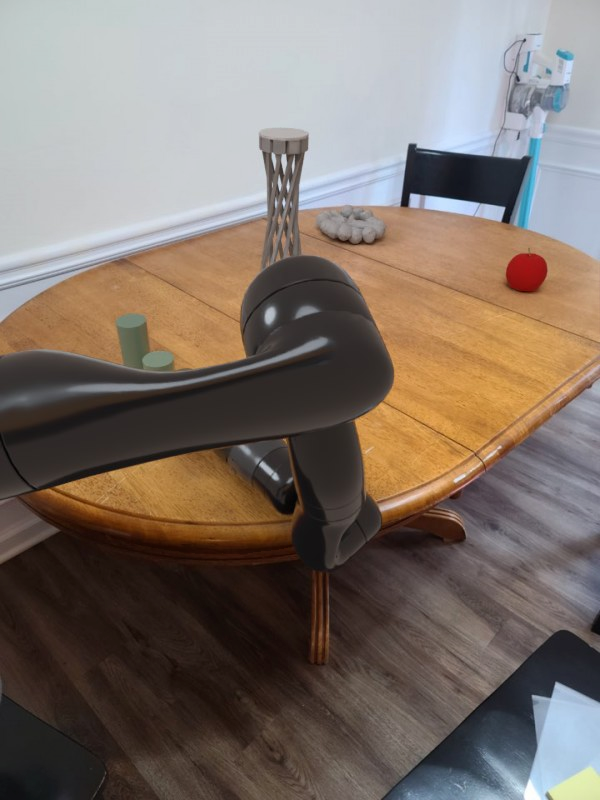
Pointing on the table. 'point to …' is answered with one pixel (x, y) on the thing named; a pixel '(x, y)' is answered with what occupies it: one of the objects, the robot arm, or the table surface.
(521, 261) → the fruit
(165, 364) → the front jar
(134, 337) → the back jar
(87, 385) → the robot arm
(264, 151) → the grey lattice tower
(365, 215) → the campfire
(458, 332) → the table surface
